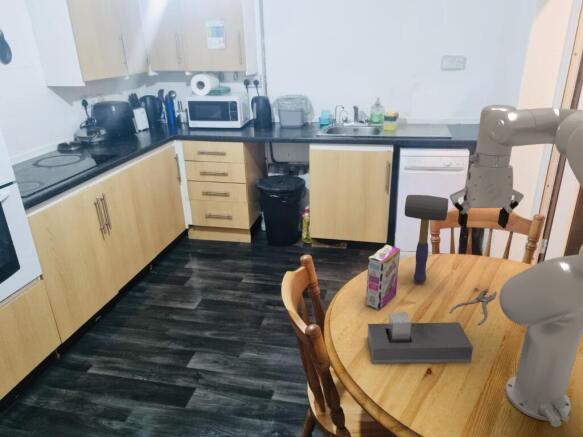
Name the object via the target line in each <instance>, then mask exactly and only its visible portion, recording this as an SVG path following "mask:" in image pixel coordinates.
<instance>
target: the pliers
mask: <svg viewBox="0 0 583 437" xmlns="http://www.w3.org/2000/svg"><path fill="white" fill-rule="evenodd" d="M488 290H489V288H485V289H484V290H482V291H481V292H480V293H479V294H478V296H477V297H476V298H475V299H474V300H473V299H472V300H470V301H466V302H461V303H458V304H455V305H454V306H453V307H452V308H451V309H450V310H449V314H452V313H453V312H454V310H456V309H458V308H459V307H463V306H467V305H472V304H478V303H480V302H481V303H482V304H481V308H482V310H483V315H484V317H483V318H482V320H481V321H480V322H478V323H477V326H481V325H482V324H484V323H485V322H486V321H487V319H488V316H489V314H488V309H487V305H488V303H489V302H491V301H493V300H494V299H495V298H496V296H497V291H495V292H493V293H492V294H489V296H486V295H487V294H486V293H487V292H488Z"/></svg>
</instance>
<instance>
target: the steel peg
mask: <svg viewBox="0 0 583 437" xmlns="http://www.w3.org/2000/svg"><path fill="white" fill-rule="evenodd" d="M388 313H389V316H388V318H389V319H388V324H389V328H388V340H389V343H409V342H410V331H411V323H412V321H411V318H410V316H409V314H408V312H407V311H395V312H394V311H391V312H390V311H389V312H388Z"/></svg>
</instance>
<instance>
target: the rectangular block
mask: <svg viewBox="0 0 583 437" xmlns="http://www.w3.org/2000/svg"><path fill="white" fill-rule="evenodd" d="M388 328H389V323H368V324H367V336H366V337H367V342H368V346H369V347H368V348H369V350H370V351H369V352H370V354H371V359H372V363H373V364H416V363H417V364H420V363H423V364H424V363H425V364H426V363H429V364H430V363H433V364H434V363H435V364H437V363H471V362H472V357H473V351H474V346H473V344H472V342H471V340H470V339H469V337H468V336H467V333H466V332H465V330H464V328H463V326H462V325H461V323H460V322H459V321H457V322H455V321H453V322H411V331H410V342H409V343H389V340H388Z"/></svg>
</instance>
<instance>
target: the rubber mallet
mask: <svg viewBox="0 0 583 437" xmlns="http://www.w3.org/2000/svg"><path fill="white" fill-rule="evenodd" d="M448 209H449V199H448V198H447V197H440V196H435V195H428V194H427V195H426V194H424V195H423V194H407V196H406V198H405V204H404V216H405V217H406V218H410V219H411V218H412V219H418V220H420V226H419V236H418V237H419V238H418V242H417V245H416V250H415V268H414V274H413V281H414V283H416V284H418V285H423V284H424V283H425V281H426V280H427V273H426V271H427V261H428V258H429V257H428V256H429V242H428V237H429V228H430V227H429V226H430V224H429V223H430V221H440V222H441V221H443V222H444V221H446V220H447V216H448Z"/></svg>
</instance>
